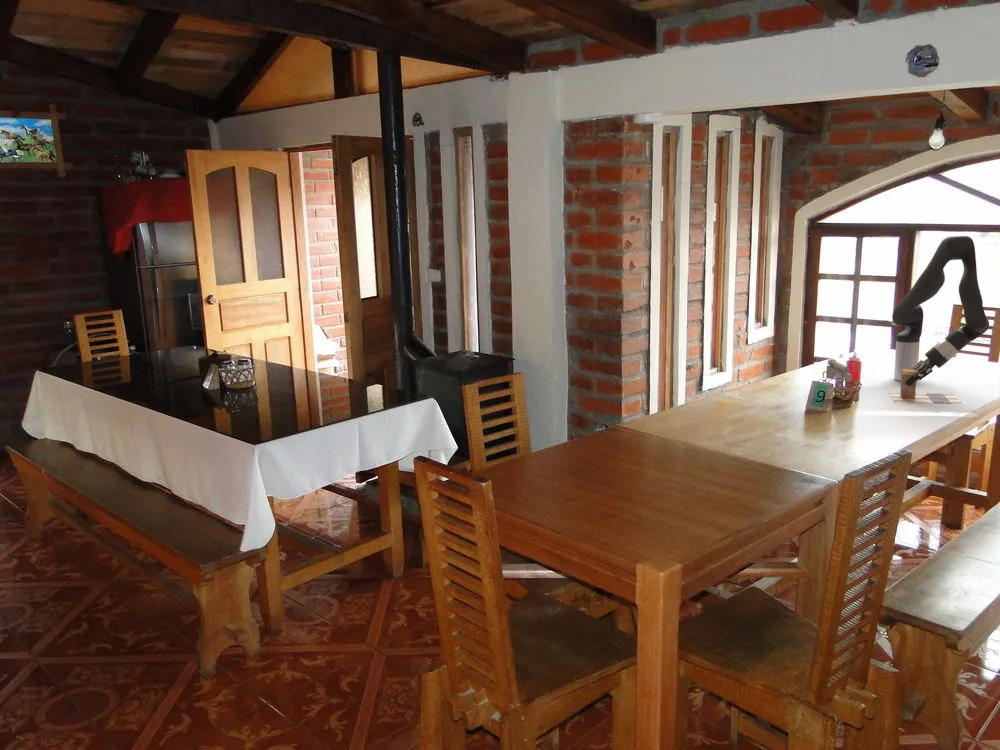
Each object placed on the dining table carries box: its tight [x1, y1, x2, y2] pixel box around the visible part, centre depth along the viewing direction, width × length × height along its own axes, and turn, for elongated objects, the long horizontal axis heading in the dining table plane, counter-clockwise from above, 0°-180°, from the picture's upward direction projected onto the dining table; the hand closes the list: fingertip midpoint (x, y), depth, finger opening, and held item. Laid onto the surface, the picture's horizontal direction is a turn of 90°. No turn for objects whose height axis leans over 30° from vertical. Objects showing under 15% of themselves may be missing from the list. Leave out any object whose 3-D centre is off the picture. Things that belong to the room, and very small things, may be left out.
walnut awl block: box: [899, 370, 917, 399], centre depth 325 cm, size 5×5×11 cm
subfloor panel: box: [888, 392, 964, 405], centre depth 324 cm, size 16×24×2 cm, turn 73°
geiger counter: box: [822, 358, 853, 382], centre depth 342 cm, size 14×6×25 cm
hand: (906, 382), depth 325 cm, fingers closed on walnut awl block, 4 cm apart
